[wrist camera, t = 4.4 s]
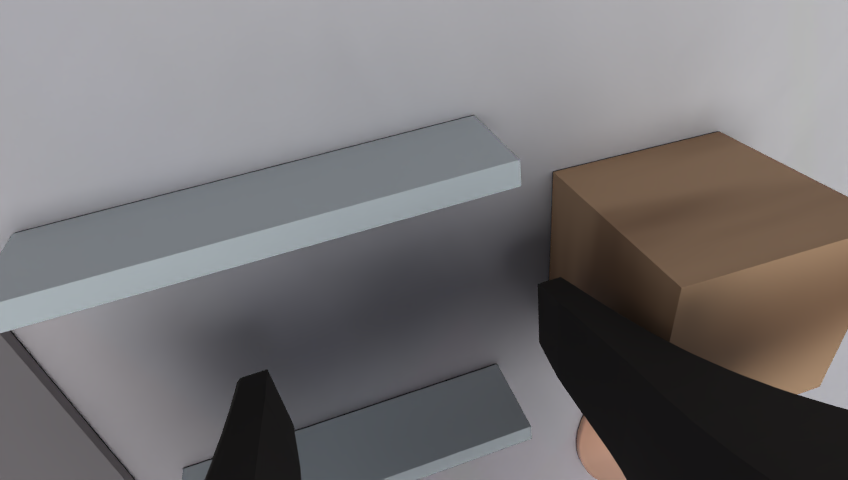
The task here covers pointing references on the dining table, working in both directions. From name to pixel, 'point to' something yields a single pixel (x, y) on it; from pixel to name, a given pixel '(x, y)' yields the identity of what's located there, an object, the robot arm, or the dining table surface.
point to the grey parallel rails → (280, 233)
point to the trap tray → (45, 427)
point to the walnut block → (711, 254)
